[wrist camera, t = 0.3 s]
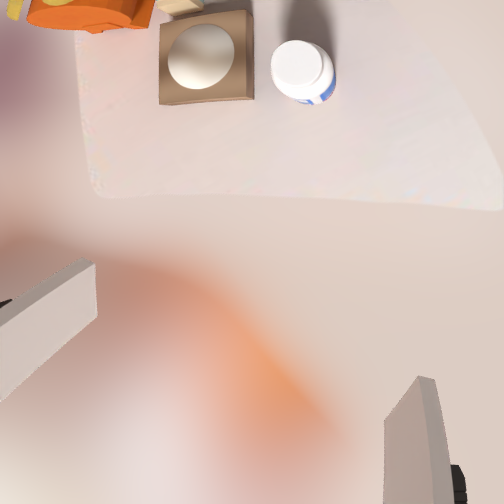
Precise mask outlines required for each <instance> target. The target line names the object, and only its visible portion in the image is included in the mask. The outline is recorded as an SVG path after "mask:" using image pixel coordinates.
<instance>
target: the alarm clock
mask: <svg viewBox="0 0 504 504" xmlns="http://www.w3.org/2000/svg"><path fill="white" fill-rule="evenodd" d="M23 1H24V0H9V2H8V6H7V16H8V17H9V18H10V19H13V20H18V18H19V14H20V11H21V7H22V4H23ZM154 2H155V0H32V1H31V4H30V8H29V11H28V15H27V21H28V23H30V24H32V25H35V26H39V27H44V28H52V29H63V30H86V31H88V32H90V33H92V34H96V33H103V30H110V29H119V28H123V27H125V28H131V29H144V28H148V25H149V21H150V17H151V13H152V10H153V6H154Z"/></svg>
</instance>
